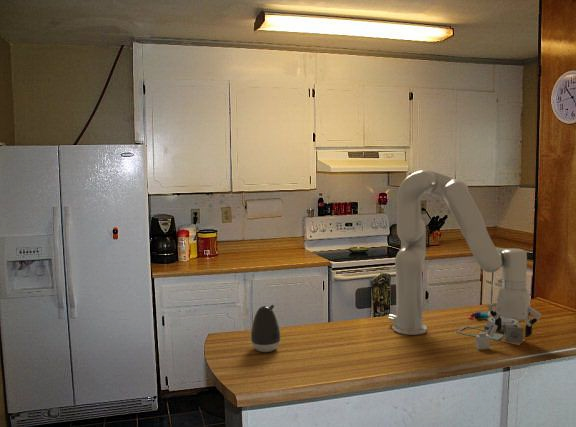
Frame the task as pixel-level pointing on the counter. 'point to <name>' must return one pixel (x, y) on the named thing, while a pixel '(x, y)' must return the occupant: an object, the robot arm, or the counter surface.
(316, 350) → the counter surface
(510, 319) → the dome
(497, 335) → the sorting mat
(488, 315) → the toy figure
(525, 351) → the counter surface
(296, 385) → the counter surface
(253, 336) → the pump dispenser
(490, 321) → the dome base
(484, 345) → the lighter
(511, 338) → the dice cube
